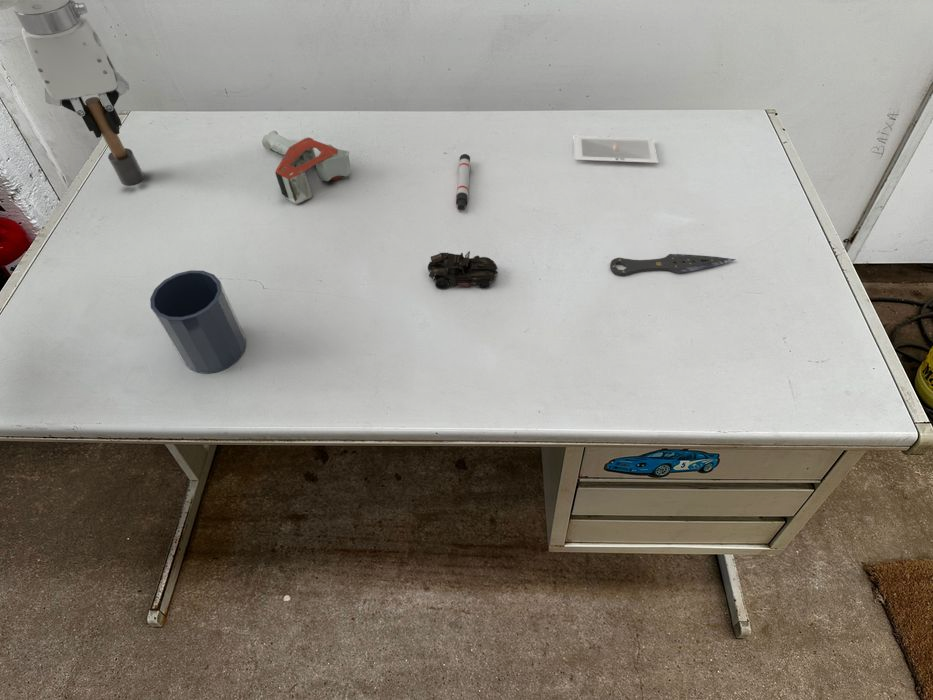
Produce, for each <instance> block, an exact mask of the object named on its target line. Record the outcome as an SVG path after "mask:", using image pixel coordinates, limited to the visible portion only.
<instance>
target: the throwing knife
mask: <svg viewBox="0 0 933 700" xmlns="http://www.w3.org/2000/svg"><path fill="white" fill-rule="evenodd" d="M733 261H737V259H736V258H729V257H721V256H712V255H701V254H685V253H684V254H683V253H669V254H667V255H666V256H664V257H659V258H652V259H651V258H649V259H632V258H624V257H616V258H613V259H611V261H610V265H609V269H610V271H611V272H612V274H614V275H616V276H619V277H625V276H628V275H631V274H635V273H640V272H647V271H670V272H674V273H676V274H682V273H688V272H693V271H698V270H703V269H707V268H712V267H715V266H720V265H723V264H727V263H730V262H733ZM619 264H620V265H622V266H624V267H625V268H624V269H619V268H618V267H617V265H619Z"/></svg>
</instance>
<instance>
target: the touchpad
mask: <svg viewBox="0 0 933 700" xmlns="http://www.w3.org/2000/svg"><path fill="white" fill-rule="evenodd" d="M572 136H573V153H574V160H575V161H576V160H578V161H598V162H599V161H601V162H603V161H604V162H629V163H630V162H631V163H652V164H653V163H654V164H655V163H656V164H657V163H659V159H658V156H657V151H656V145H655V142H654V138H653V137H631V136H630V137H629V136H628V137H627V136H602V135H598V136H597V135H574V134H573V135H572Z"/></svg>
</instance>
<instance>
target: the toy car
mask: <svg viewBox="0 0 933 700" xmlns="http://www.w3.org/2000/svg"><path fill="white" fill-rule="evenodd" d="M470 255H471V251H470V250H469V251H468V252H467V253H466V254H465V255H464V253H463V252H461V253H460V254H456V253H450V252H439V253H437V254H433V255H432V256H430V261H429V263H428V264H427V270H428V273H429V274H428V277H430V278H431V279H432V280H433V282H435V287H436V288H437V289H439V290H445V289H446V290H447V289H448V288H449V287H450V288H452V287H456V286H457V287H459V288H460V287H461V288H469V287H470V286H471V285H472V286H477V285H478V286H479V288H481V289H483V290H484V289H488V288H489V287H490V285H491V282H494V281H495V280H496V276H497V274H498V272H499V271H497V270H498V267H497V264H496V263H495V261H494V260H493V259H491V258H490V257H487V256H480V255H475V256H473V257H470Z"/></svg>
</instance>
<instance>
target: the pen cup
mask: <svg viewBox="0 0 933 700" xmlns="http://www.w3.org/2000/svg"><path fill="white" fill-rule="evenodd" d="M149 301H150V302H149V303H150V310H151V311H152V313H153V314H154V316H155V318H156V319H157V321H158V322H159V324H160V325H161V327H162V329H163V331H164V332H165V334H166V336H167V337H168V339H169V341H170V342H171V345H173V347H174V349H175V350H176V352H177V354H178V356H179V357H180V359H181V361H182V362H183V363H184V364H185V366H186V367H187V368H189V369H190V370H191V371H193V372H195V373H198V374H214V373H218V372H222V371H224V370H226V369H229V368H230V367H232V366H233V365H235V364H236V363H238V361H239V360H240V359H241V357H243V355H244V353H245V352H246V351H245V350H246V347H247V339H246V335H245V333H244V331H243V329H242V326H241V324H240V321H239V320H238V317H237V315H236V313H235V311H234V308H233V306H232V303H231V302H230V300H229V298H228V295H227V293H226V291H225V288H224V286H223V284H222V282H221V280H220V279H219V278H218V277H217V276H216V274H213V273H211V272H208V271H206V270H196V269H195V270H194V269H191V270H186V271H182V272H177V273H175V274H173V275H171V276H169V277H168V278H167V277H166V279H163V280H162V282H161V283H159V284H158V285H157V286H156V287H155V288H154V290H153V292H152V293H151V295H150V297H149Z"/></svg>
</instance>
